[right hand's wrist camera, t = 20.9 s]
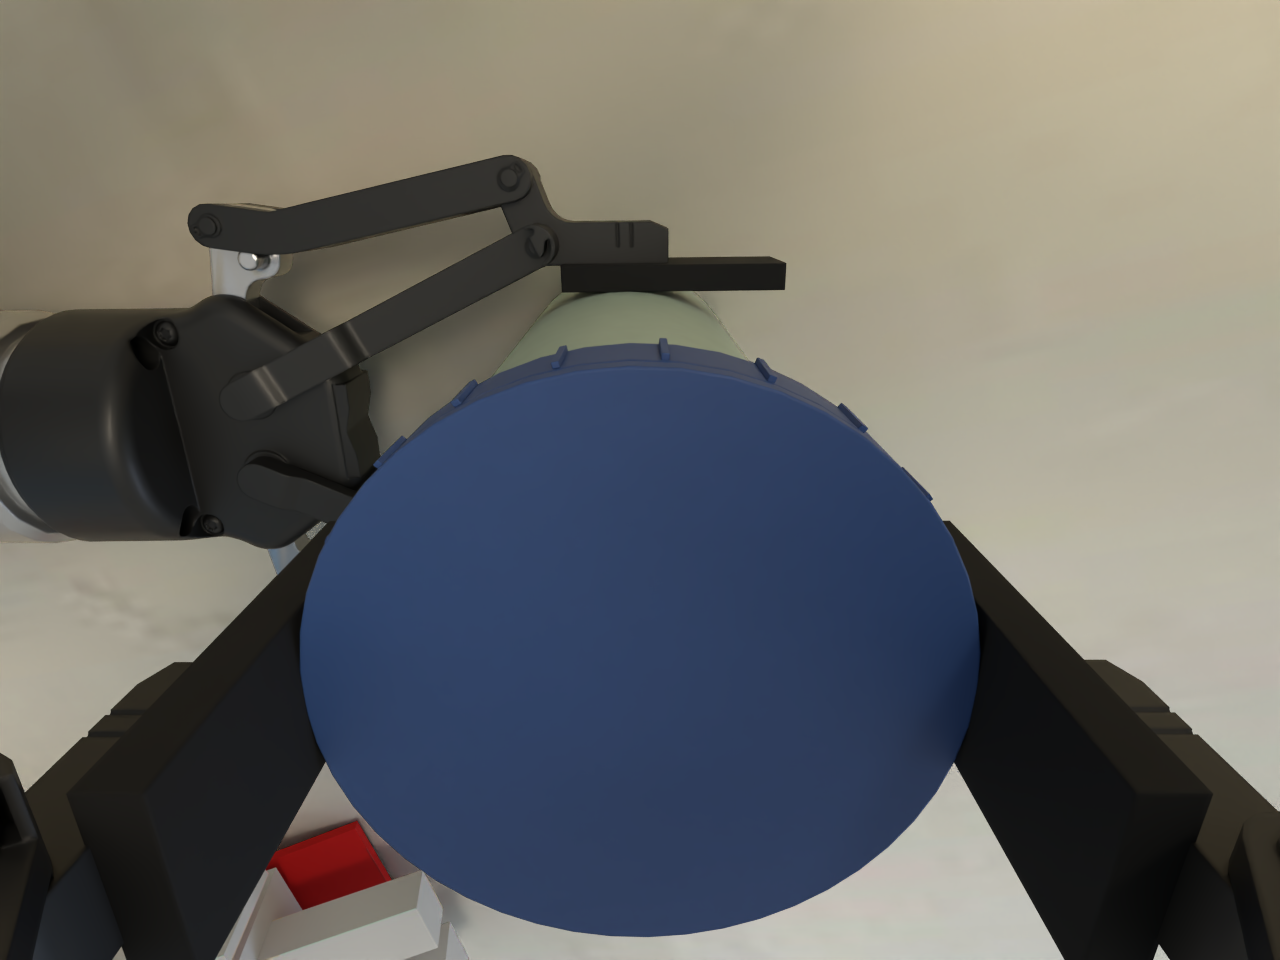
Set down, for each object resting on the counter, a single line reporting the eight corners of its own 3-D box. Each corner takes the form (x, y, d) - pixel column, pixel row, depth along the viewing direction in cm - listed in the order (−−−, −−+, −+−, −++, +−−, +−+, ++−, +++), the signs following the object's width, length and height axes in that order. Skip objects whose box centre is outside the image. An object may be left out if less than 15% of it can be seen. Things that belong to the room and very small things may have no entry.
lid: (486, 205, 10) (458, 206, 8) (1070, 528, 11) (1136, 578, 10) (257, 733, 13) (205, 805, 11) (742, 924, 14) (754, 1009, 13)
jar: (662, 509, 32) (693, 820, 16) (486, 412, 30) (324, 650, 14) (774, 341, 29) (946, 512, 13) (589, 225, 28) (532, 259, 12)
